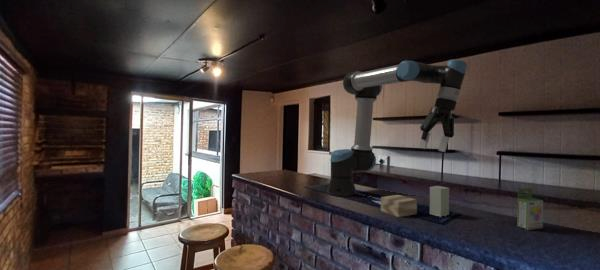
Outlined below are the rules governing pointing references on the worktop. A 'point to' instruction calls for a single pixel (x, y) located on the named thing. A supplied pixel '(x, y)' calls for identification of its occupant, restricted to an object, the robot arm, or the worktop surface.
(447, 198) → the sage block
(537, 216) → the ink box
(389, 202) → the birch block
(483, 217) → the worktop surface
